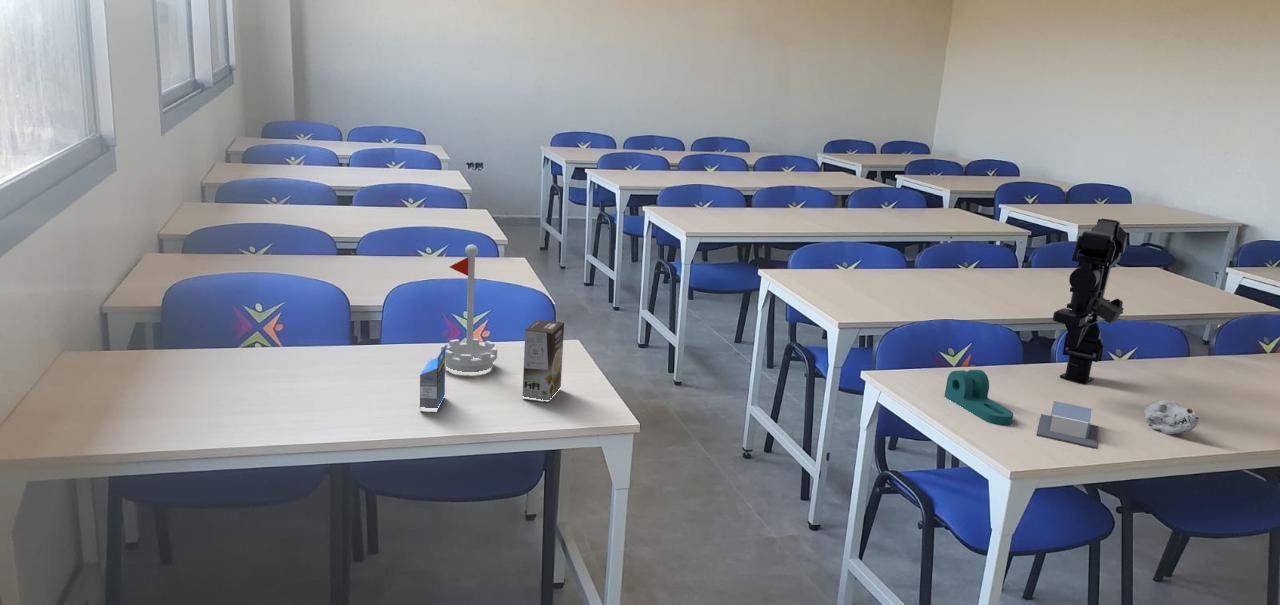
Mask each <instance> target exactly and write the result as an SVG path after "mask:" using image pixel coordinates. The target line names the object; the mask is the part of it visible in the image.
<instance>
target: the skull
mask: <svg viewBox="0 0 1280 605" xmlns="http://www.w3.org/2000/svg"><path fill="white" fill-rule="evenodd" d="M1143 412H1144V414H1145V419H1146V422H1147V425H1148V426H1151V429H1153V430H1158V431H1161V433H1162V434H1165V435H1175V434H1179V433H1187V432H1188V433H1189V432H1191V431H1193V430H1195V428H1196V427H1197V425H1198V424H1199V421H1200V420H1199V419H1200V416H1199V415H1198V414H1197V413H1195V412H1194V410H1193V409H1192V408H1187V407H1182V406H1181V405H1179V403H1178V402H1177V401H1174V400H1170V399H1165V400H1164V399H1160V400H1158V401H1155V402H1153V403H1150V404H1149V405H1148V406H1146V407H1145V409H1144V411H1143Z"/></svg>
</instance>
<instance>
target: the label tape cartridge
mask: <svg viewBox="0 0 1280 605" xmlns="http://www.w3.org/2000/svg"><path fill="white" fill-rule="evenodd" d="M444 344H445V346H444V348H443V350H442V351H441V350H440V353H439V355H438V356H437V357H435V358H433V359H430V360H428V361H427V363H426V365H425V366H424V368H423V370H422V372H421V373H420V375H419V408H420V407H425V408H438V406H439V404H440V403H441V401H442V399H443V397H444V395H445V396H446V362H445V351H446V344H447V343H444ZM442 354H443V356H442Z"/></svg>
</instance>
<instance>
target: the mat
mask: <svg viewBox="0 0 1280 605" xmlns="http://www.w3.org/2000/svg"><path fill="white" fill-rule="evenodd" d="M1050 416H1051V415H1048V414H1043V413H1041V414H1040V418H1039V422H1038V425H1037V430H1036V437H1042V438H1046V439H1050V440H1054V441H1060V442H1064V443H1069V444H1073V445H1078V446H1083V447H1087V448H1091V449H1095V450H1096V449H1097V445H1098V443H1097V442H1098V430H1099V427H1098V425H1094V424H1091V423H1090V427H1089V432H1088V437H1087V439H1086V438H1080V437H1075V436H1071V435H1066V434H1062V433H1057V432H1052V431H1050V430H1048V426H1049V421H1050Z"/></svg>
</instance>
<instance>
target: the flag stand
mask: <svg viewBox="0 0 1280 605" xmlns="http://www.w3.org/2000/svg"><path fill="white" fill-rule="evenodd" d="M464 252H465V255H466V256H467V257H465V258H464V259H461V260H460V261H457V262H455V263H454V264H452V265H450V266H449V268H450V269H452V270H454V271H457V272H459V273H460V274H463V275H465V276H467V293H466V294H467V300H466V302H467V303H466V306H467V307H466V342H461V341H460V339H458V338H456V339H451V340H449V341H448V344H447V343H442V344H441V348H440V349H441V350H440V352H441V351H442V350H443V348H444V346H445V344H446V351H445V367H446V366H447V367H448V368H450V369H453V370H457V371H462V372H479V371H483V370H487V369H489V368H491V367H492V366H493V365H494V362H495V361H496V360H497V359H498V346H495V344H496V343H494V342H492V341H489V340H486V341H485V342H484V343H480V340H479V338H474V319H475V318H474V317H475V316H474V310H475V308H474V307H475V274H476V273H475V270H476V269H475V268H476V267H475V266H476V256H477V255H478V254H479V249H478V247H477V245H475V244H468V245H467V246H466V247H465V250H464ZM460 342H461V343H460ZM442 356H443V354H442ZM473 357H474V358H479V359H473Z"/></svg>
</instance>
